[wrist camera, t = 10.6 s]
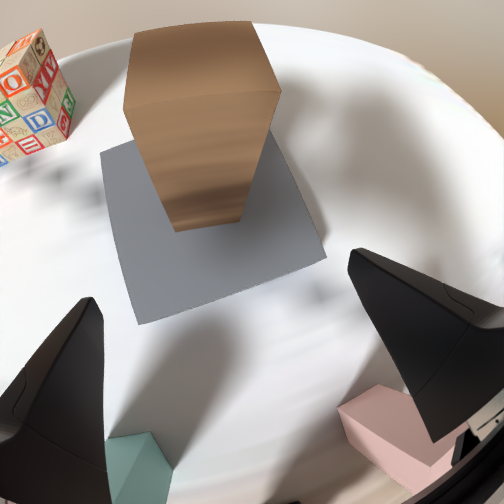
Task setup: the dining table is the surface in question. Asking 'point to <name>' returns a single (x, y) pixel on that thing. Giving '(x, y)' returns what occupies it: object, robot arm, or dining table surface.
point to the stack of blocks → (31, 98)
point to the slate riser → (204, 237)
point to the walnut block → (200, 116)
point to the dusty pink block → (397, 437)
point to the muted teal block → (137, 470)
